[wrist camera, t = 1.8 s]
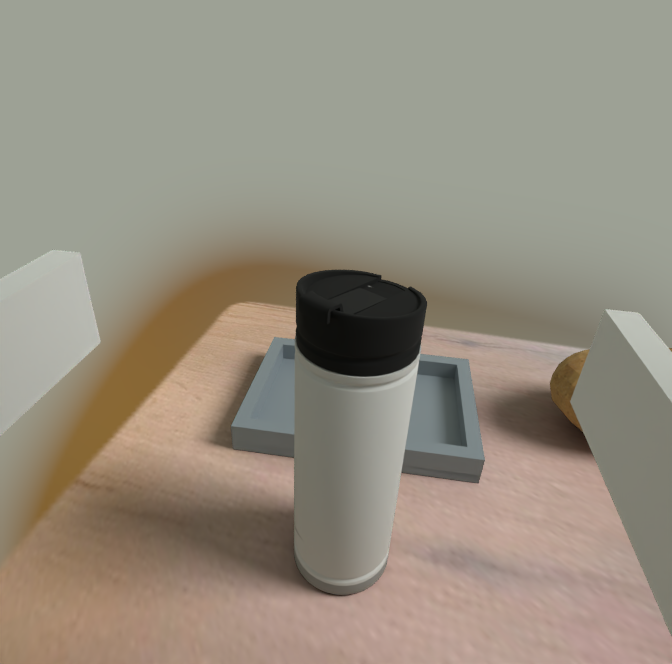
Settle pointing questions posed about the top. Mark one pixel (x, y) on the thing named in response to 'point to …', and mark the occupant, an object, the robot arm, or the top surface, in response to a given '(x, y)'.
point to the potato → (568, 383)
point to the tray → (424, 426)
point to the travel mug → (351, 421)
